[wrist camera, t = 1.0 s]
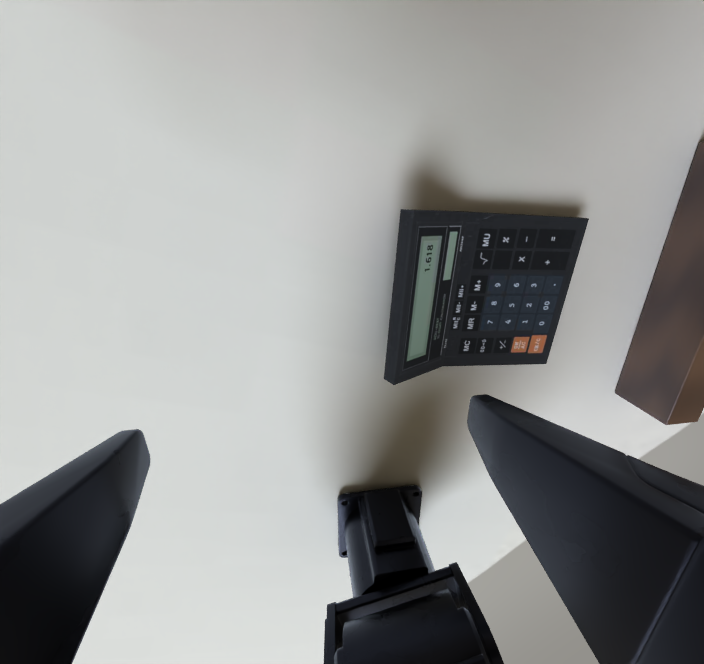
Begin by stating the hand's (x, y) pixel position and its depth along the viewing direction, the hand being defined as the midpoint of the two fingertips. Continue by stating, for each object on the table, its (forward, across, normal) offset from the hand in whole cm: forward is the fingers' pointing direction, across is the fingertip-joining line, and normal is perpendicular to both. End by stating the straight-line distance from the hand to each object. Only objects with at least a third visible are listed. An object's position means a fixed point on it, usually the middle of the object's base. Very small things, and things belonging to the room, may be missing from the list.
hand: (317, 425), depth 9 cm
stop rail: (+12, -24, 0) cm, 27 cm away
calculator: (+12, -10, 0) cm, 16 cm away
